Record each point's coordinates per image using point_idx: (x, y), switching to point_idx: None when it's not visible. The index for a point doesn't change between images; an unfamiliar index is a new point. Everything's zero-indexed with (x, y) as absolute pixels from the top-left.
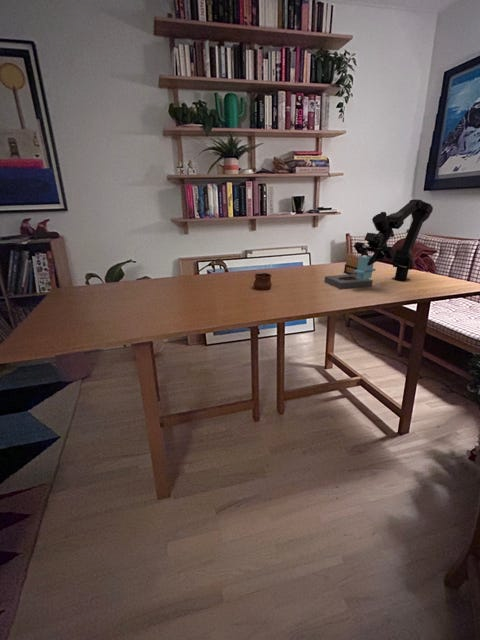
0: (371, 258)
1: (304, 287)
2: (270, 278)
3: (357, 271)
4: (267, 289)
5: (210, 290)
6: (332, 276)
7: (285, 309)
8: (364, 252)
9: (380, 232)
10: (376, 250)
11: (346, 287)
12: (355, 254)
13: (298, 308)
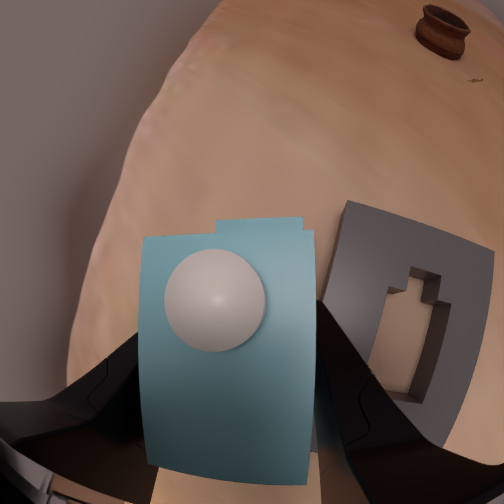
0: (130, 355)
1: (425, 114)
2: (436, 24)
3: (256, 219)
4: (416, 36)
5: (430, 2)
6: (479, 288)
7: (255, 3)
8: (345, 465)
9: None
10: (4, 420)
11: (333, 253)
12: None
13: (243, 15)
